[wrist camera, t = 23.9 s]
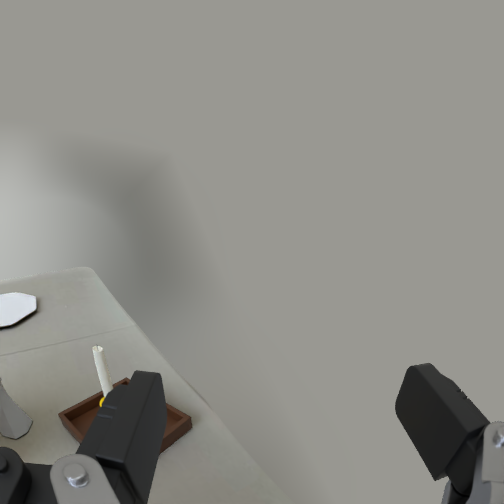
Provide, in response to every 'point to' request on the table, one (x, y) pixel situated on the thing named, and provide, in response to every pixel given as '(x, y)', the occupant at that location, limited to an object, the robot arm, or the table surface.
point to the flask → (12, 417)
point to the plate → (15, 307)
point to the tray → (85, 411)
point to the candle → (102, 371)
